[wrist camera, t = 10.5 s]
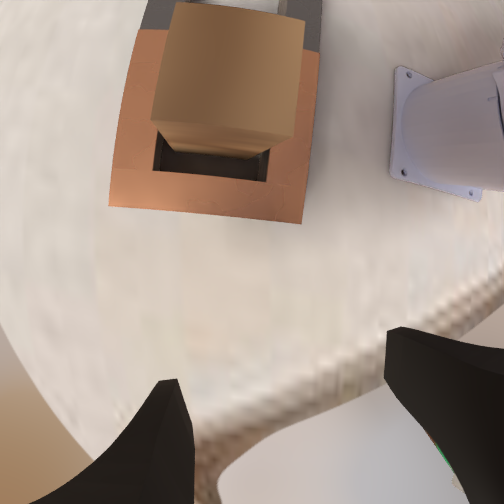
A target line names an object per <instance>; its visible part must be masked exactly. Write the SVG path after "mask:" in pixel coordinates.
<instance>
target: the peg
mask: <svg viewBox="0 0 504 504" xmlns="http://www.w3.org/2000/svg"><path fill="white" fill-rule="evenodd" d="M304 30H305V21H303V20H299V19H295V18H290V17H286V16H281V15H277V14H272V13H267V12H261V11H256V10H250V9H243V8H236V7H229V6H221V5H211V4H201V3H186V2H176V5H175V8H174V12H173V16H172V19H171V23H170V27H169V31H168V35H167V39H166V43H165V48H164V52H163V56H162V61H161V65H160V70H159V75H158V80H157V85H156V90H155V96H154V101H153V107H152V113H151V119H150V120H151V121H152V122H153V124H154V125H155V126H156V128H157V129H158V130H159V132H160V133H161V134H162V136H163V137H164V138H165V140H166V141H167V142H168V144H169V145H170V146H171V148H172V149H173V150H174V152H179V153H190V154H200V155H210V156H219V157H227V158H235V159H243V160H248V159H250V158H252V157H254V156H255V155H257V154H259V153H261V152H263V151H265V150H267V149H269V148H271V147H273V146H275V145H277V144H279V143H281V142H283V141H285V140H287V139H289V138H292V137H293V134H294V126H295V117H296V108H297V99H298V90H299V80H300V71H301V61H302V51H303V40H304Z"/></svg>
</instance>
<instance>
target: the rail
mask: <svg viewBox="0 0 504 504" xmlns="http://www.w3.org/2000/svg"><path fill="white" fill-rule="evenodd" d="M176 2H186V3H191V0H148V3H147V6H146V9H145V13H144V16H143V19H142V23H141V26H140V29H139V30H138V33H137V37H136V41H135V45H134V48H133V52H132V56H131V61H130V65H129V69H128V74H127V78H126V83H125V88H124V93H123V98H122V103H121V109H120V115H119V121H118V127H117V133H116V140H115V148H114V155H113V164H112V172H111V182H110V193H109V206H115V207H128V208H141V209H154V210H166V211H177V212H189V213H199V214H210V215H220V216H230V217H240V218H250V219H259V220H268V221H277V222H286V223H295V224H301V222H302V215H303V208H304V200H305V192H306V184H307V176H308V168H309V160H310V151H311V142H312V133H313V124H314V114H315V104H316V93H317V82H318V71H319V58H320V53H319V42H320V28H321V13H322V0H279V7H278V15H281V16H286V17H290V18H295V19H299V20H303V21H305V30H304V40H303V51H302V61H301V71H300V80H299V90H298V99H297V108H296V117H295V126H294V134H293V137H292V138H289V139H287V140H285V141H283V142H281V143H279V144H277V145H275V146H273V147H271V148H269V149H267V150H265V151H263V152H261V153H260V158H259V166H258V174H257V181H251V180H243V179H235V178H226V177H217V176H207V175H197V174H186V173H175V172H162V171H160V163H161V155H162V147H163V140H164V137H163V136H162V134H161V133H160V132H159V130H158V129H157V128H156V126H155V125H154V124H153V122H152V121H151V120H150V119H151V113H152V107H153V101H154V96H155V90H156V85H157V80H158V75H159V70H160V65H161V61H162V56H163V52H164V48H165V43H166V39H167V35H168V31H169V27H170V23H171V19H172V16H173V12H174V8H175V5H176Z"/></svg>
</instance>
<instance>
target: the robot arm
mask: <svg viewBox="0 0 504 504" xmlns="http://www.w3.org/2000/svg"><path fill="white" fill-rule="evenodd" d="M500 53H501V55H502V57H503V59H504V40H503V46H502V47H501V49H500ZM406 73H407V74H408V75H409V78H408V77H407V75H406ZM402 169H403V171H404V175H403V176H402V174H401V171H402ZM389 173H390V175H391V176H392V177H393V178H395V179H398V180H402V181H406V182H410V183H414V184H418V185H421V186H425V187H429V188H432V189H436V190H439V191H443V192H446V193H450V194H453V195H456V196H460V197H463V198H466V199H469V200H472V201H476V202H479V201H480V200H481V198H482V190H492V191H501V192H504V60H503V61H499V62H495V63H492V64H488V65H484V66H481V67H478V68H474V69H471V70H468V71H464V72H461V73H458V74H455V75H452V76H448V77H445V78H442V79H439V80H436V81H434V80H432V79H430V78H428V77H426V76H424V75H421V74H419V73H417V72H415V71H412V70H410V69H408V68H406V67H403V66H399V67H397V68H396V69H395V90H394V115H393V132H392V145H391V157H390V167H389ZM469 191H470V194H469ZM384 379H385V380H386V382H387V384H388V385H389V387H390V389H391V390H392V392H393V393H394V394H395V396H396V398H397V399H398V400H399V401H400V402H401V404H402V405H403V406H404V407H405V408H406V409H407V410H408V412H409V413H410V414H411V415H412V416H413V417H414V418H415V419H416V421H417V422H418V423H419V424H420V425H421V426H422V427H423V428H424V430H425V431H426V432H427V433H428V434H429V435H430V436H431V438H432V439H433V440H434V441H435V443H436V444H437V446H438V447H439V449H440V450H441V452H442V453H443V455H444V456H445V458H446V459H447V461H448V463H449V464H450V466H451V468H452V470H453V471H454V473H455V475H456V476H457V478H458V480H459V482H460V484H461V486H462V488H463V490H464V492H465V494H466V496H467V499H468V501H469V503H470V504H504V349H501V348H492V347H485V346H479V345H474V344H469V343H464V342H460V341H456V340H452V339H448V338H445V337H441V336H437V335H434V334H430V333H426V332H423V331H419V330H415V329H411V328H406V327H398V328H395V329H392V330H389V331H387V340H386V356H385V369H384ZM194 470H195V446H194V436H193V427H192V422H191V419H190V416H189V413H188V411H187V408H186V405H185V402H184V399H183V395H182V392H181V389H180V386H179V383H178V380H177V379H170V380H162V381H158V383H157V384H156V386H155V387H154V388H153V390H152V391H151V393H150V394H149V396H148V397H147V399H146V400H145V402H144V403H143V405H142V406H141V408H140V409H139V410H138V412H137V413H136V415H135V416H134V417H133V419H132V420H131V422H130V423H129V424H128V425H127V427H126V428H125V429H124V430H123V432H122V433H121V434H120V435H119V437H118V438H117V439H116V440H115V441H114V442H113V443H112V445H111V446H110V447H109V448H108V449H107V450H106V451H105V452H104V453H103V454H102V455H101V456H99V457H98V458H97V459H96V460H95V461H94V462H93V463H92V464H91V465H89V466H88V467H87V468H86V469H84V470H83V471H82V472H81V473H79V474H78V475H77V476H75V477H74V478H73V479H72V480H70V481H69V482H67V483H66V484H64V485H63V486H61V487H60V488H58V489H56V490H55V491H53V492H51V493H50V494H48V495H46V496H44V497H42V498H40V499H38V500H36V501H34V502H32V503H29V504H194Z"/></svg>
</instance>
